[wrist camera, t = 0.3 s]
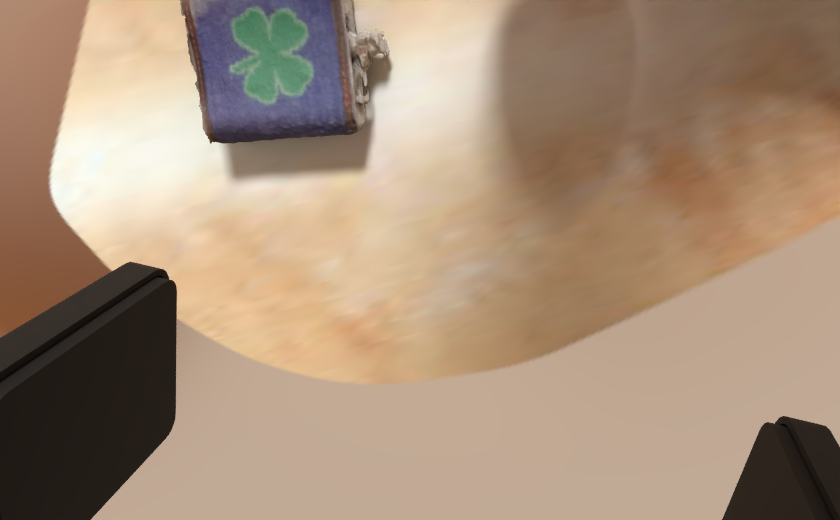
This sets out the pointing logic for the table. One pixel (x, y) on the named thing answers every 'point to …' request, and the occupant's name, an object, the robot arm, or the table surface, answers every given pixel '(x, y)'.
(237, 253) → the table surface
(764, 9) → the table surface
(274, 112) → the flask
